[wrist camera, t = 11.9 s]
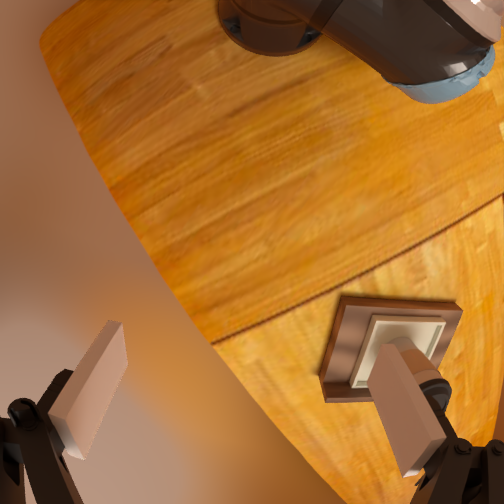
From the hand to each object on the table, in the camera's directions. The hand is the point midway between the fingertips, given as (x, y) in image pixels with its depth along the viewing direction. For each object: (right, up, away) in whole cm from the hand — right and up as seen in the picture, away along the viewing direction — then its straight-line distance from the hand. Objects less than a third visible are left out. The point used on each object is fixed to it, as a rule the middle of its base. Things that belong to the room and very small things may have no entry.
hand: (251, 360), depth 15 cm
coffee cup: (+25, -12, +34) cm, 44 cm away
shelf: (+25, -11, +37) cm, 46 cm away
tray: (+25, -12, +35) cm, 44 cm away
